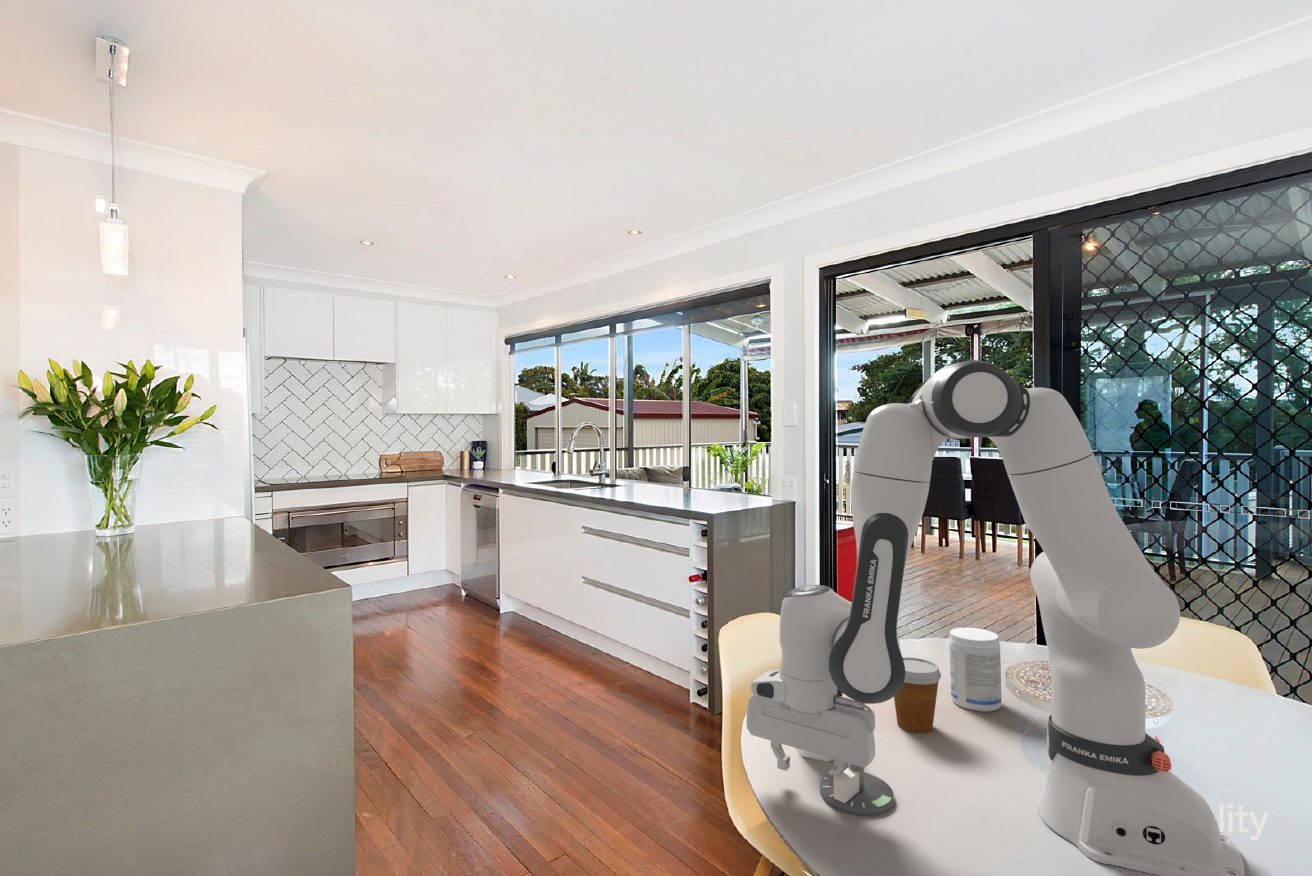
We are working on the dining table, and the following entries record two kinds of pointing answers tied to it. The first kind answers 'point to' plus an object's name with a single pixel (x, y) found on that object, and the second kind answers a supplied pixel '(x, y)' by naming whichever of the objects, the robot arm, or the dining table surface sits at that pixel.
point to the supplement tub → (975, 669)
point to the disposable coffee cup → (917, 696)
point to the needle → (848, 783)
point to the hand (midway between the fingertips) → (808, 776)
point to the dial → (862, 797)
